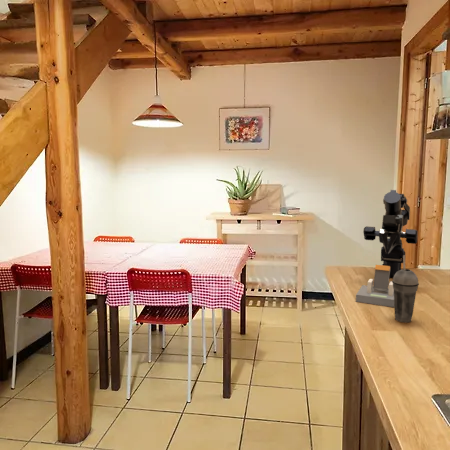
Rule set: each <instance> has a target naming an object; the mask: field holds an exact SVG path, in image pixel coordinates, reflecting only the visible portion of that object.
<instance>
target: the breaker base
mask: <svg viewBox="0 0 450 450" xmlns="http://www.w3.org/2000/svg"><path fill="white" fill-rule="evenodd" d="M392 281H393V280H392ZM392 281H391V280H389V285H388V291H387V292H385V291H377V290H374V288H373V286H374V278H369V279H368V281H367V285H365V284H363V285H361V287H360V288H359V289H358V291H357V293H355V302H356V303H362V304H370V305H375V306H383V307H389V308H394V289H393V282H392Z"/></svg>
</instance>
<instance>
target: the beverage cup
mask: <svg viewBox="0 0 450 450" xmlns="http://www.w3.org/2000/svg"><path fill="white" fill-rule="evenodd" d="M402 267H403V268H401V270H399V271H398V272H396V273H395V275H394V277H393V278H392V282H393V289H394V307H393V308H394V309H393V310H394V319H395V321H397V322H400V323H406V324H407V323H411V322H412V319H413V313H414V308H415V307H414V306H415V303H416V302H415V301H416V296H417V291H418V288H419V285H420V284H419V278H418V275H417V274H416V273H415V272H414V271H413V270H411V269H409V268H408V269H407V268H406V254H405V255H403V263H402Z"/></svg>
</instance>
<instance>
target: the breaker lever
mask: <svg viewBox="0 0 450 450" xmlns="http://www.w3.org/2000/svg"><path fill="white" fill-rule="evenodd" d="M374 269H375V270H374V277H373V288H374V290H377V291H385V292H387V291H388V288H389V283H390V278H389V275H390V266H384V265H382V264H375V267H374Z"/></svg>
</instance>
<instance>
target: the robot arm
mask: <svg viewBox="0 0 450 450" xmlns="http://www.w3.org/2000/svg"><path fill="white" fill-rule="evenodd" d="M382 201H383V204H384V210H385V214H383V216H382V223H381V229H379V230H376V227H375V226H368V225H367V226H364V228H363V232H362V233H363V236H364V237H363V238H364V240H366V241H374V240H376V238H377V237H378V239H379V243H381V244H383V246H381V247H380V248H381V250H380V261H381V262H382V263H383V264H381V265H384V266H390V275H389V279H391V278H392V279H393V277H394V275H395V273H396V272H398V271H399V270H401V269H402V264H403V255H405V256H406V251H405V250H404V249H405V248H404V247H403V240H402V239H405V242H406V243H407V244H411V245H412V244H413V245H416V244H417V243H418V237H419V236H418V230H417V229H414V228H413V229H412V228H406V229H405V231H403V227H404V226H406V225H408V221H410V220H411V219H410V217H411V207H410V205H409V204H408V198H407V196H405V194H404V193H398V191H397V189H390V191H389V192H387V193H386V194H384V196H383V200H382Z"/></svg>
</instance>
